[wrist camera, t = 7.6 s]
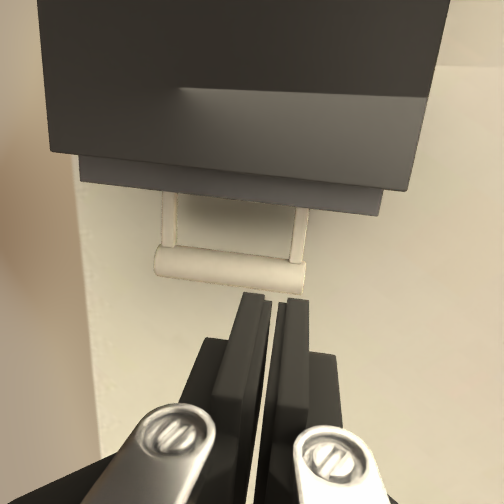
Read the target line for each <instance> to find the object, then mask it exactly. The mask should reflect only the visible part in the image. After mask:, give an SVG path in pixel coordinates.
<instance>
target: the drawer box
mask: <svg viewBox="0 0 504 504" xmlns="http://www.w3.org/2000/svg"><path fill="white" fill-rule="evenodd" d="M449 4H450V0H37V7H38V18H39V29H40V41H41V53H42V63H43V75H44V87H45V98H46V109H47V120H48V132H49V142H50V151H52V152H56V153H65V154H74V155H83V156H91V157H100V158H109V159H118V160H127V161H136V162H145V163H154V164H162V165H171V166H180V167H189V168H198V169H207V170H216V171H225V172H233V173H242V174H251V175H260V176H269V177H278V178H287V179H295V180H304V181H313V182H322V183H331V184H340V185H349V186H358V187H366V188H375V189H384V190H393V191H402V192H405V191H407V189H408V185H409V180H410V176H411V172H412V167H413V163H414V158H415V154H416V150H417V145H418V141H419V136H420V132H421V128H422V123H423V119H424V114H425V110H426V106H427V101H428V97H429V92H430V88H431V84H432V79H433V75H434V70H435V66H436V62H437V57H438V53H439V48H440V44H441V40H442V35H443V31H444V26H445V22H446V17H447V13H448V9H449Z"/></svg>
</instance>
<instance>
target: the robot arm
mask: <svg viewBox="0 0 504 504" xmlns="http://www.w3.org/2000/svg"><path fill="white" fill-rule="evenodd" d="M264 298H265V295H264V294H256V293H248V292H243V295H242V298H241V302H240V305H239V308H238V311H237V314H236V318H235V321H234V324H233V327H232V330H231V334H230V337H229V340H223V339H216V338H208V337H206V338H205V339H204V341H203V343H202V346H201V348H200V351H199V353H198V356H197V358H196V361H195V363H194V365H193V368H192V370H191V373H190V375H189V378H188V380H187V383H186V385H185V388H184V390H183V392H182V395H181V397H180V400H179V402H178V403H175V404H167V405H164V406H160V407H157V408H156V409H154V410H152V411H150V412H149V413H147V414H146V415H145V416H144V417H143V418H142V419H141V420H140V422H139V423H138V424H137V426H136V427H135V428H134V430H133V431H132V433H131V434H130V435H129V437H128V438H127V439H126V441H125V442H124V444H123V445H122V446H121V448H120V449H119V451H118V452H117V453H114V454H112V455H110V456H108V457H106V458H104V459H101V460H99V461H97V462H95V463H93V464H91V465H88V466H86V467H84V468H82V469H80V470H78V471H75V472H73V473H71V474H69V475H67V476H65V477H63V478H60V479H58V480H56V481H54V482H51V483H49V484H47V485H45V486H43V487H41V488H38V489H36V490H34V491H32V492H30V493H28V494H25V495H23V496H21V497H19V498H17V499H15V500H13V501H11V502H10V503H8V504H245V503H246V497H247V490H248V484H249V477H250V470H251V464H252V457H253V451H254V444H255V437H256V431H257V424H258V418H259V411H260V404H261V398H262V390H263V381H264V372H265V363H266V354H267V345H268V335H269V326H270V317H271V308H272V301H267V300H264ZM253 504H398V503H397V502H396V501H395V500H394V499H392V498H391V497H390V496H389V495H388V494H387V492H386V489H385V486H384V484H383V481H382V478H381V475H380V472H379V469H378V467H377V464H376V461H375V458H374V456H373V454H372V452H371V450H370V449H369V447H368V446H367V445H366V444H365V443H364V442H363V441H362V440H361V439H360V438H359V437H357V436H356V435H354V434H353V433H351V432H350V431H347V430H345V429H343V424H342V414H341V403H340V393H339V383H338V372H337V362H336V356H335V355H331V354H324V353H317V352H310V351H309V300H303V299H295V298H288V300H287V303H283V302H279V304H278V312H277V319H276V326H275V333H274V340H273V348H272V355H271V362H270V369H269V376H268V384H267V391H266V398H265V406H264V414H263V423H262V432H261V441H260V449H259V458H258V467H257V476H256V485H255V494H254V502H253Z"/></svg>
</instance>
